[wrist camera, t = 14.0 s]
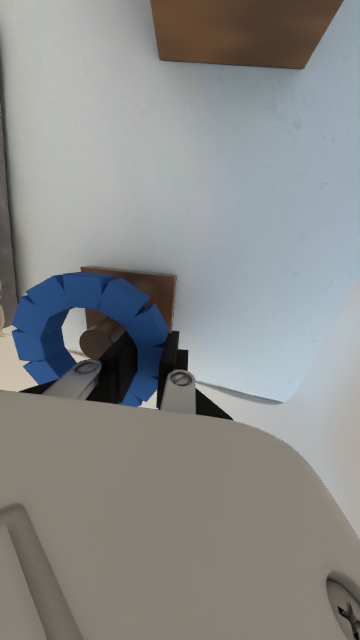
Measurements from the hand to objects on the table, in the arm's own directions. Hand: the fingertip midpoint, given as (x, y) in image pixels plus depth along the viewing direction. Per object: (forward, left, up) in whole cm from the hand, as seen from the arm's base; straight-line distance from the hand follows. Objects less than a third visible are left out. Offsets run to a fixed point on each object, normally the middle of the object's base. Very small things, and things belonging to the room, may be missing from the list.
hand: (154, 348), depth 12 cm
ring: (+4, 0, 0) cm, 4 cm away
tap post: (+4, 0, -7) cm, 8 cm away
